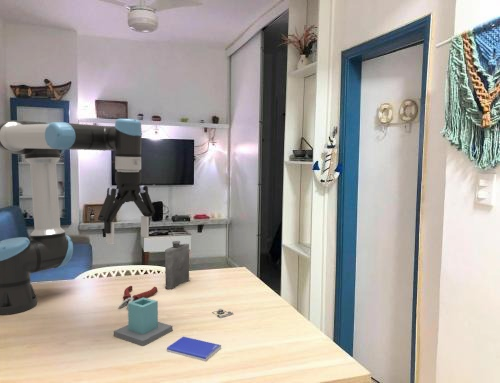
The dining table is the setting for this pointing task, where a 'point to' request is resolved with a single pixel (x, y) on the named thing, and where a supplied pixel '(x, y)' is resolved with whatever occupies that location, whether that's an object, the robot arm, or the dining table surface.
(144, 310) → the block with square hole
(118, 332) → the pin base
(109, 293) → the dining table surface
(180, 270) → the flask
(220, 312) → the grey rectangular frame
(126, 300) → the pliers
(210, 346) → the hard drive
